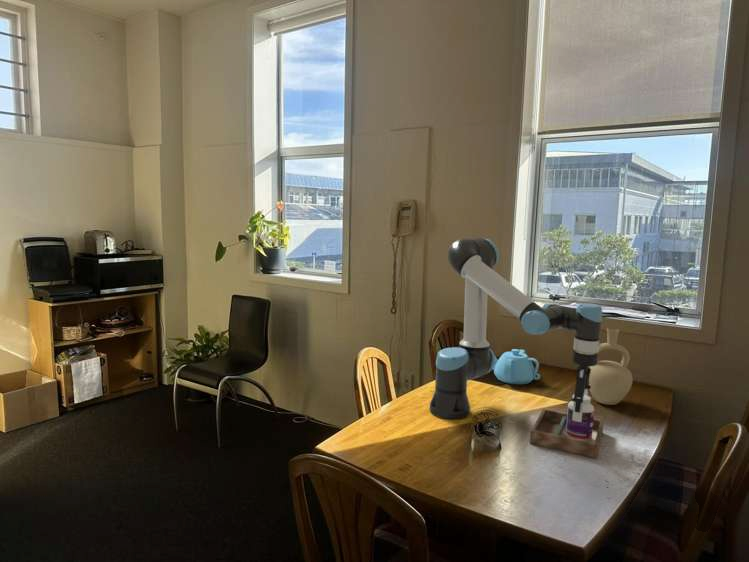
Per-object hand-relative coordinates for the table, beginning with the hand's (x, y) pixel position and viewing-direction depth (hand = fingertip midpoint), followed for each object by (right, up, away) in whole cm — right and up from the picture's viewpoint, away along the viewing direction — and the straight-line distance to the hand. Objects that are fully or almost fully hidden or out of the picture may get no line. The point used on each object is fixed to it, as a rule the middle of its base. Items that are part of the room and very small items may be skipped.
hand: (579, 413), depth 167 cm
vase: (+26, -5, +37) cm, 45 cm away
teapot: (-5, -1, +63) cm, 64 cm away
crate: (-3, -9, +3) cm, 10 cm away
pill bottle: (0, -9, +1) cm, 9 cm away
